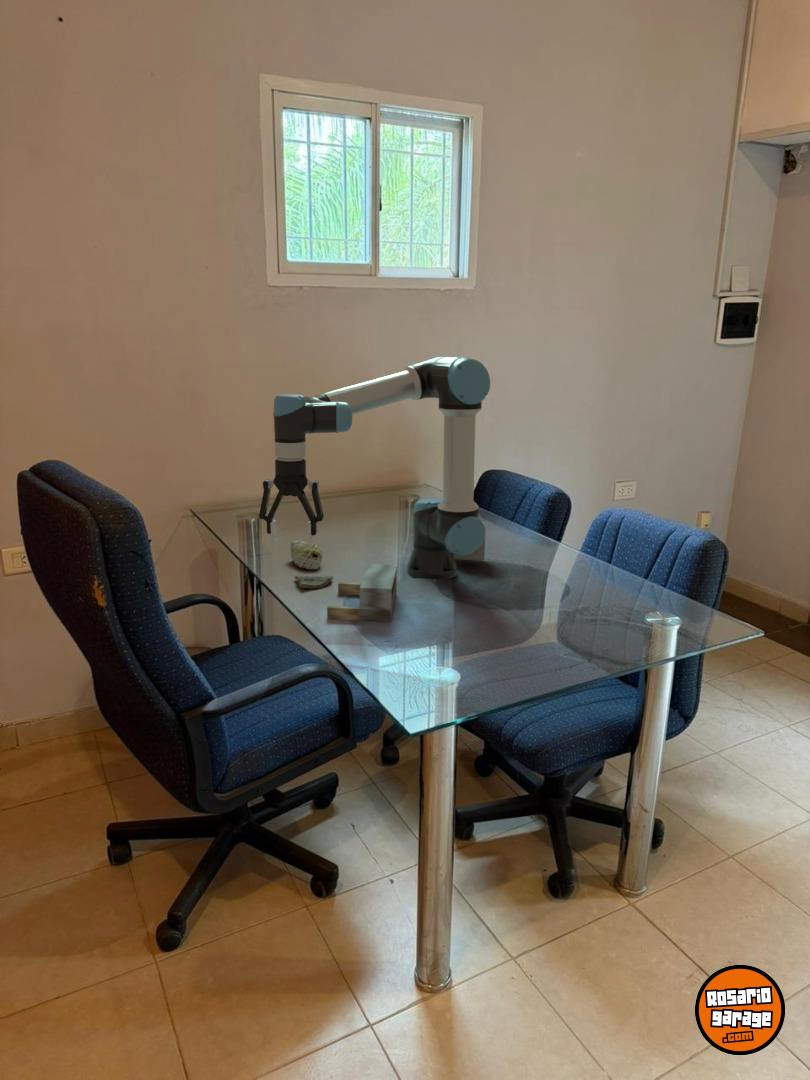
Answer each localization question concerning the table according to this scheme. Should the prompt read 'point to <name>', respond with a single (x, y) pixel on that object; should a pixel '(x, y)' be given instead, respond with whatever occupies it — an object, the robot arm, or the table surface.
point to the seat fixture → (369, 595)
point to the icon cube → (475, 555)
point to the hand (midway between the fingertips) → (292, 546)
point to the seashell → (306, 555)
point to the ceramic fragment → (313, 581)
